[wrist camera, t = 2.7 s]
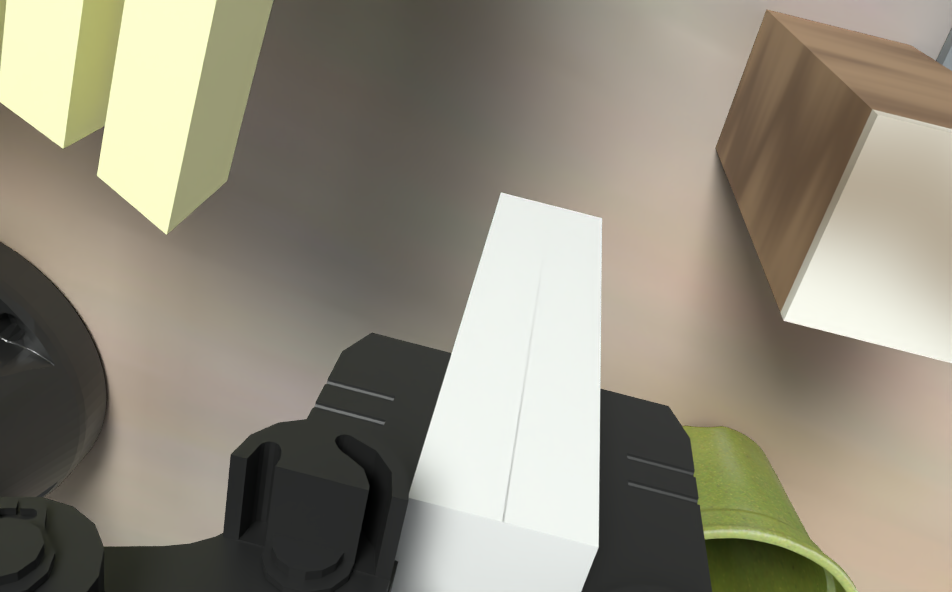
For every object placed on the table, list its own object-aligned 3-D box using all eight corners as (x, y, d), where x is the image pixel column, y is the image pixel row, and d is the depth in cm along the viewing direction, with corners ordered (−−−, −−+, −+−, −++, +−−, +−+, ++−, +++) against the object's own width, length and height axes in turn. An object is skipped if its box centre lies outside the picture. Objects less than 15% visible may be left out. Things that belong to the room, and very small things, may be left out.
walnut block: (848, 181, 31) (994, 373, 20) (715, 147, 31) (783, 320, 20) (910, 45, 29) (1117, 174, 17) (766, 9, 29) (877, 114, 17)
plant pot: (702, 348, 35) (730, 486, 27) (858, 475, 37) (926, 637, 29) (552, 476, 39) (541, 627, 31) (700, 584, 41) (723, 752, 33)
